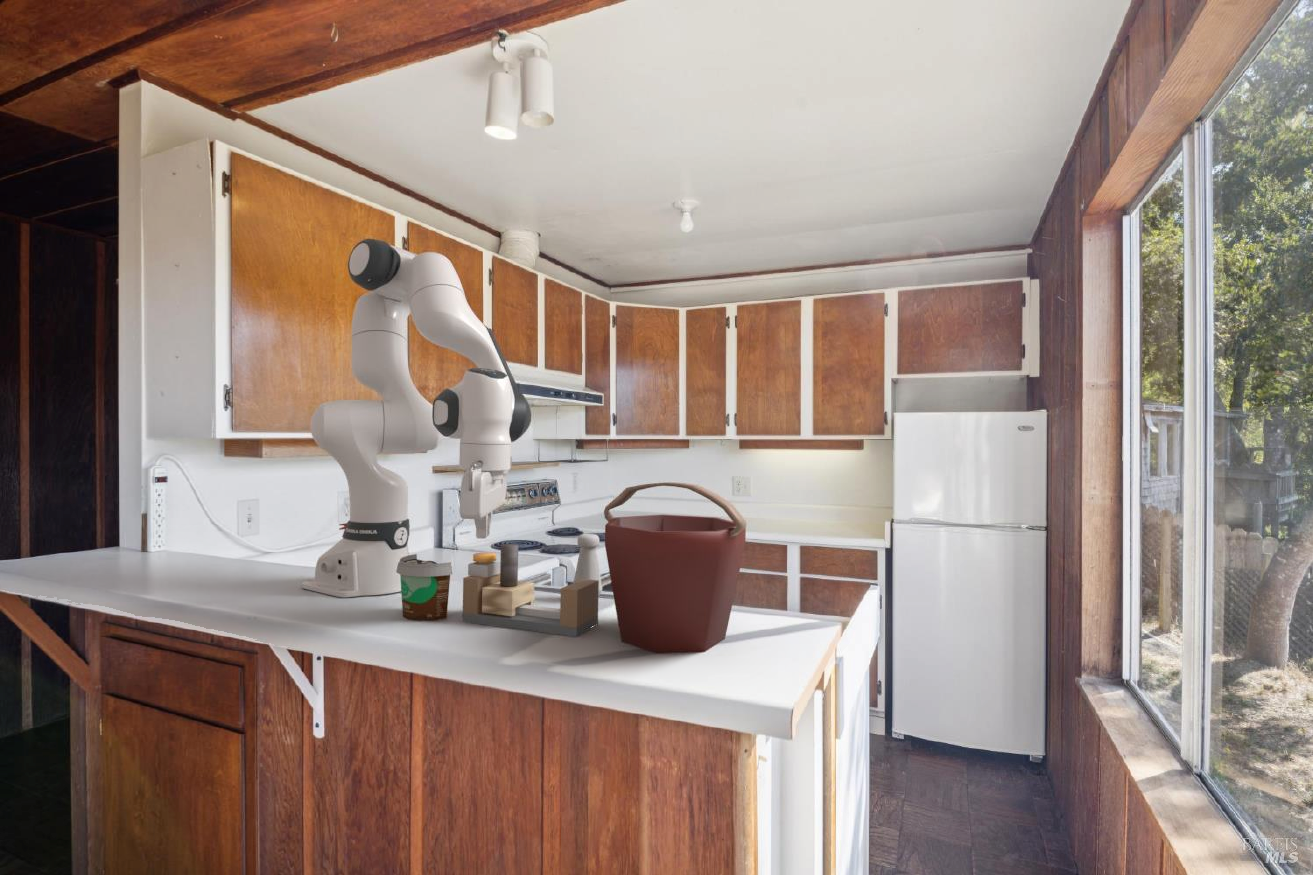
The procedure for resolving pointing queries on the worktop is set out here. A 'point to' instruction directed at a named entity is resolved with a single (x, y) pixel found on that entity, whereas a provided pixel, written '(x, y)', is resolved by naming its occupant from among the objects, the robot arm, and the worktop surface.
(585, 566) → the salt shaker
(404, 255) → the robot arm
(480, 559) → the knob
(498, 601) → the carriage
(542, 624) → the rail board
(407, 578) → the food container
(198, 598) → the worktop surface
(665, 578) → the bucket
